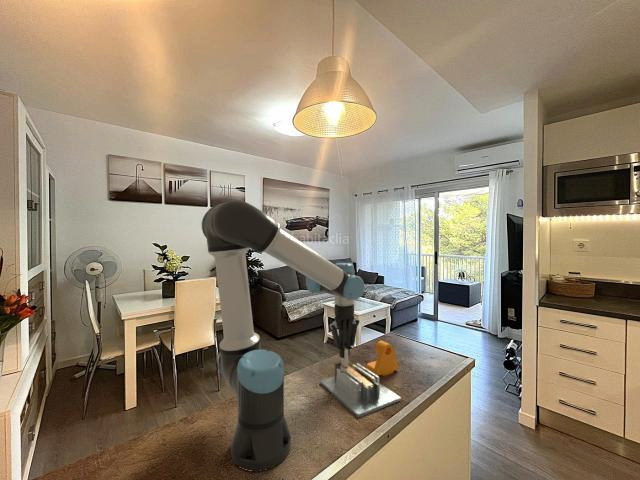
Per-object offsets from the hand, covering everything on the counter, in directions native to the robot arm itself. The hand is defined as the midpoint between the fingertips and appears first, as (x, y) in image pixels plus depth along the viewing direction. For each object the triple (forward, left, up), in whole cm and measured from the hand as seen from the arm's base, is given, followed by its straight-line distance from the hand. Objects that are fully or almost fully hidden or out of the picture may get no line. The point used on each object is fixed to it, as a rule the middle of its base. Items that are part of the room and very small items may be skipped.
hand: (344, 365), depth 106 cm
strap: (0, -8, -1) cm, 8 cm away
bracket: (+18, -1, -6) cm, 19 cm away
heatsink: (0, -9, -6) cm, 11 cm away
